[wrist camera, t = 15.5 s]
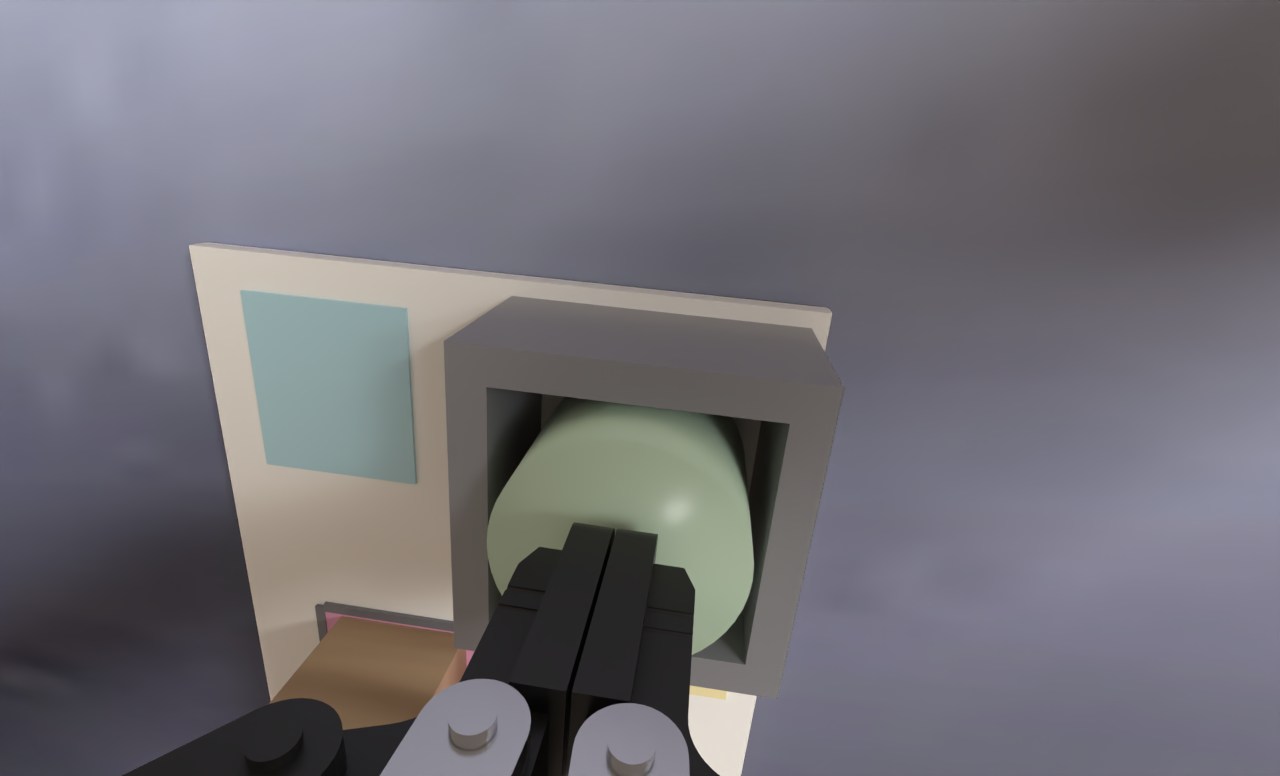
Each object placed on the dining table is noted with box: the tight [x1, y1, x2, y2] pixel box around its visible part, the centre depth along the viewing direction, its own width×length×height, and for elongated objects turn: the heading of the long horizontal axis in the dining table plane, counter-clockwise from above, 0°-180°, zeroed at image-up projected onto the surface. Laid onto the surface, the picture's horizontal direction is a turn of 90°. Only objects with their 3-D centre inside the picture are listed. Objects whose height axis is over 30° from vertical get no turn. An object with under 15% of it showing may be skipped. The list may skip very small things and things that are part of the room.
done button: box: [487, 397, 754, 655], centre depth 13 cm, size 5×5×4 cm
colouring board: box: [189, 242, 832, 776], centre depth 19 cm, size 22×16×1 cm
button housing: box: [444, 296, 844, 699], centre depth 14 cm, size 7×7×4 cm
